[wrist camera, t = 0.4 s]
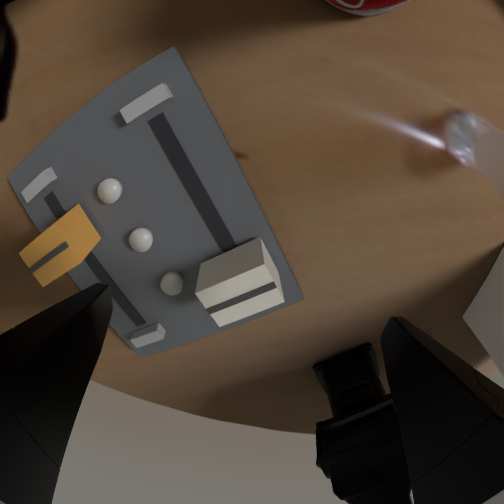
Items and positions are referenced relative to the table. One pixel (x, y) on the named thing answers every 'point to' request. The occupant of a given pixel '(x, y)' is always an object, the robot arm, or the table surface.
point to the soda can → (367, 6)
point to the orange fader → (60, 246)
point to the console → (150, 201)
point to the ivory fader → (239, 283)
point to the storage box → (490, 313)
